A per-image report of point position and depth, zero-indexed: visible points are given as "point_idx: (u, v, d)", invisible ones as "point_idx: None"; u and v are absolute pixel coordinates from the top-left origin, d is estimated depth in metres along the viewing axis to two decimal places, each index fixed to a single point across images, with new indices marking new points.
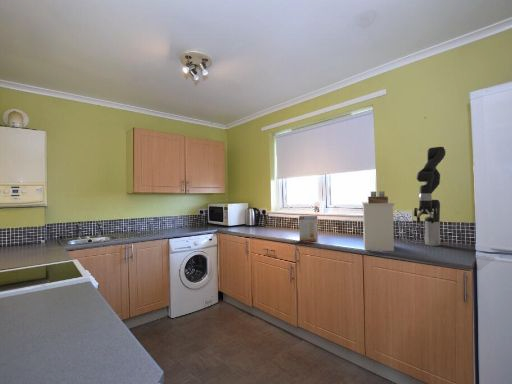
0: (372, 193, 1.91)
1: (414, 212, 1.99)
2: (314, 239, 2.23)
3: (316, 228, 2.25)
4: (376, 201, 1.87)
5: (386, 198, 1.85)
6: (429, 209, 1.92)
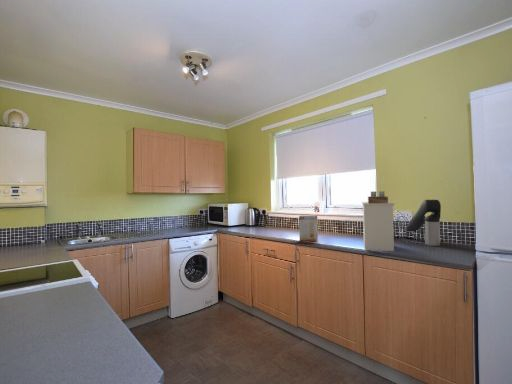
0: (372, 193, 1.91)
1: None
2: (314, 239, 2.23)
3: (316, 228, 2.25)
4: (376, 201, 1.87)
5: (386, 198, 1.85)
6: None
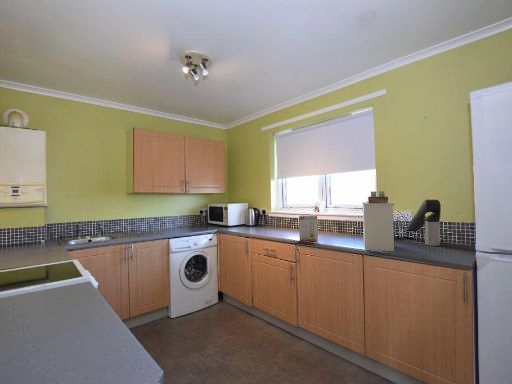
0: (372, 193, 1.91)
1: None
2: (314, 239, 2.23)
3: (316, 228, 2.25)
4: (376, 201, 1.87)
5: (386, 198, 1.85)
6: None
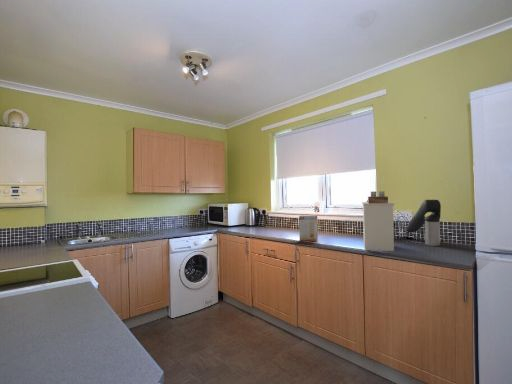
0: (372, 193, 1.91)
1: (367, 201, 2.21)
2: (314, 239, 2.23)
3: (316, 228, 2.25)
4: (376, 201, 1.87)
5: (386, 198, 1.85)
6: None
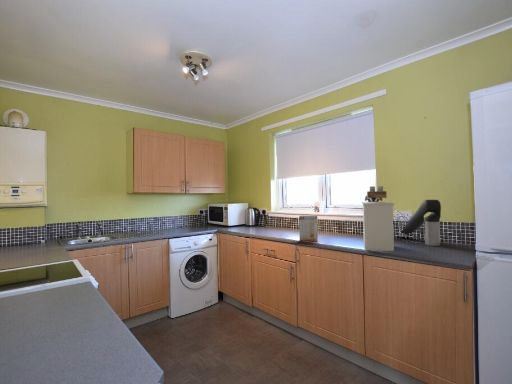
0: (371, 188, 1.96)
1: (366, 196, 2.26)
2: (314, 239, 2.23)
3: (316, 228, 2.25)
4: (375, 196, 1.92)
5: (384, 193, 1.89)
6: None
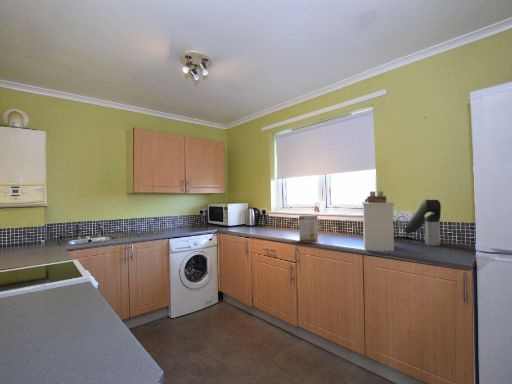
0: (371, 193, 2.01)
1: (365, 200, 2.31)
2: (314, 239, 2.23)
3: (316, 228, 2.25)
4: (375, 201, 1.97)
5: (384, 198, 1.94)
6: None
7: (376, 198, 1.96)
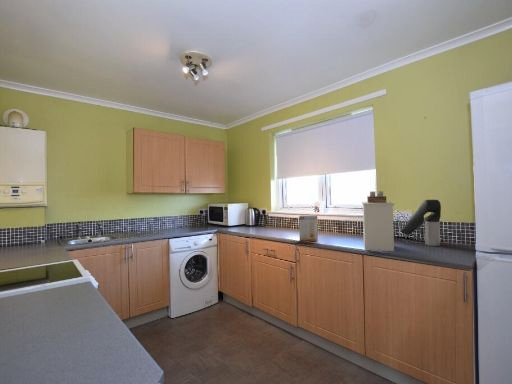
0: (371, 193, 2.01)
1: None
2: (314, 239, 2.23)
3: (316, 228, 2.25)
4: (375, 201, 1.97)
5: (384, 198, 1.94)
6: None
7: (376, 198, 1.96)
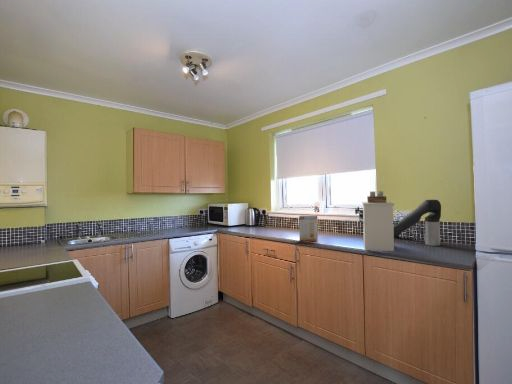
0: (371, 193, 2.01)
1: None
2: (314, 239, 2.23)
3: (316, 228, 2.25)
4: (375, 201, 1.97)
5: (384, 198, 1.94)
6: None
7: (376, 198, 1.96)
